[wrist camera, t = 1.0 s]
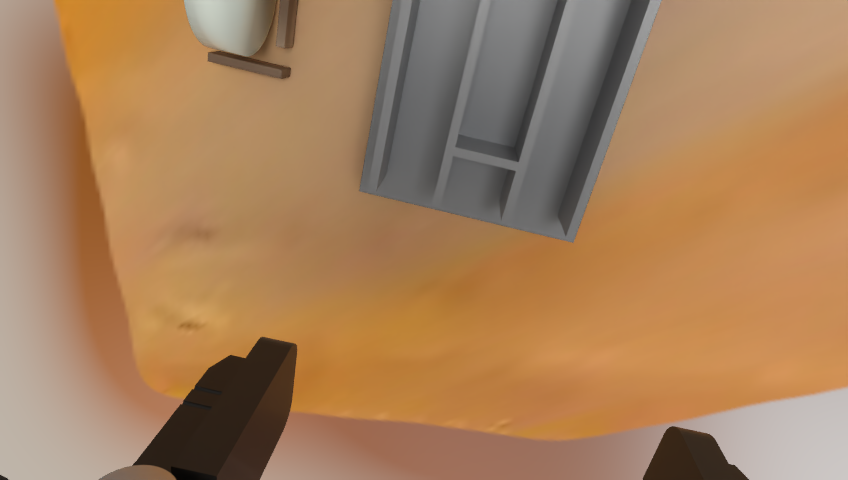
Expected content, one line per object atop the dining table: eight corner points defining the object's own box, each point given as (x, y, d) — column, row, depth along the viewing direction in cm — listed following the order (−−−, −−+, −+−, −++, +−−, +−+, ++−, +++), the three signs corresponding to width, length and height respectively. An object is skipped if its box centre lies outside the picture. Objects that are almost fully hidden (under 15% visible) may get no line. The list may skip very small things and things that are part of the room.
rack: (433, -205, 27) (423, -251, 22) (704, -142, 27) (750, -175, 22) (364, 184, 35) (346, 209, 30) (569, 233, 35) (582, 266, 30)
